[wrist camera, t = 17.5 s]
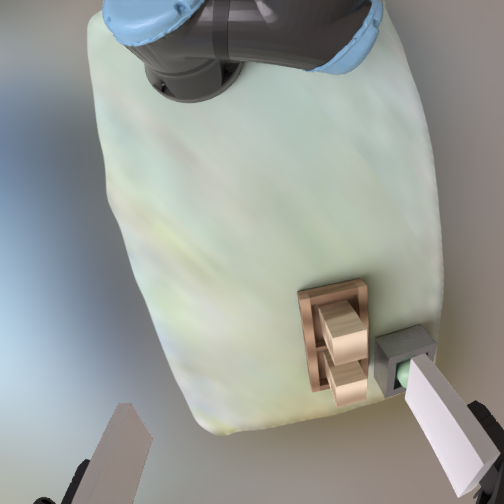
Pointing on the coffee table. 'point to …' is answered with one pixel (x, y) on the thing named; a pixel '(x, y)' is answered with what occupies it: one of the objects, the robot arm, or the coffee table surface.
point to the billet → (343, 332)
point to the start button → (403, 372)
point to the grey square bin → (399, 355)
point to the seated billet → (345, 381)
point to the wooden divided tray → (312, 330)
